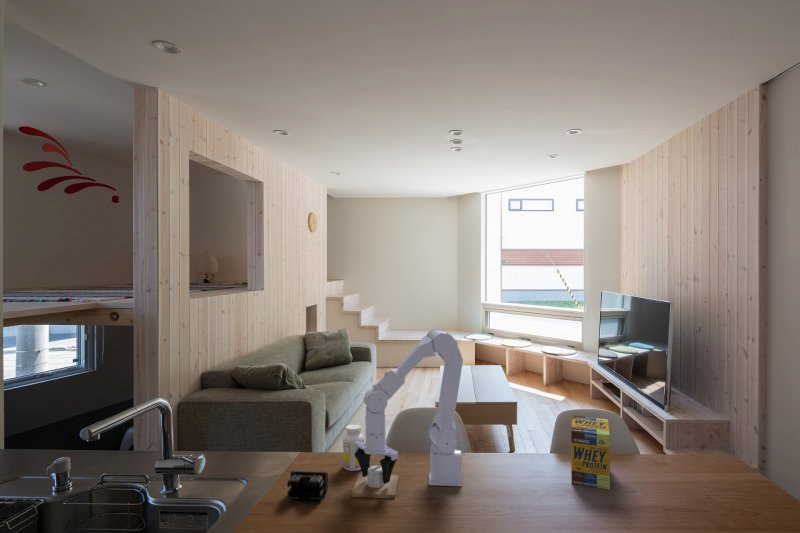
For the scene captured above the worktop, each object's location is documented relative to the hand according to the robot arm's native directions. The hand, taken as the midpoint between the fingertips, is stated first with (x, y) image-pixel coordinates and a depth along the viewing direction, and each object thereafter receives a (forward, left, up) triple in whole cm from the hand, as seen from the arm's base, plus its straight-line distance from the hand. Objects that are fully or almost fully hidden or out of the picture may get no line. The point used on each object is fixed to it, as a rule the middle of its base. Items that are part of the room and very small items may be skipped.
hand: (376, 479), depth 137 cm
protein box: (-63, -12, -3) cm, 64 cm away
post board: (0, 0, -2) cm, 2 cm away
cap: (0, 0, -1) cm, 1 cm away
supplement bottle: (+9, -13, -3) cm, 16 cm away
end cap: (+18, +7, -3) cm, 19 cm away
